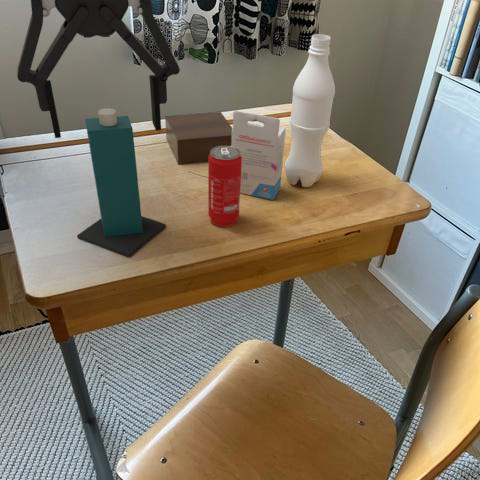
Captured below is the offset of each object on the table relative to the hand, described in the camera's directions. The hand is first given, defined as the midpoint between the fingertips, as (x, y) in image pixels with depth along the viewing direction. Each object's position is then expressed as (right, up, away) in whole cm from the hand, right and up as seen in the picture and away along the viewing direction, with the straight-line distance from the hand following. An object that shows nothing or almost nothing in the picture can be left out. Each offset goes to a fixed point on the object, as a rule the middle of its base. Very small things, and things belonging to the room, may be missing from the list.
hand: (108, 130), depth 71 cm
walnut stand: (+10, +9, +35) cm, 38 cm away
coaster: (-1, -12, +11) cm, 17 cm away
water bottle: (+30, 0, +27) cm, 40 cm away
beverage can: (+16, -10, +16) cm, 24 cm away
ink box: (+21, -3, +24) cm, 32 cm away
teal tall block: (0, -5, +6) cm, 8 cm away
